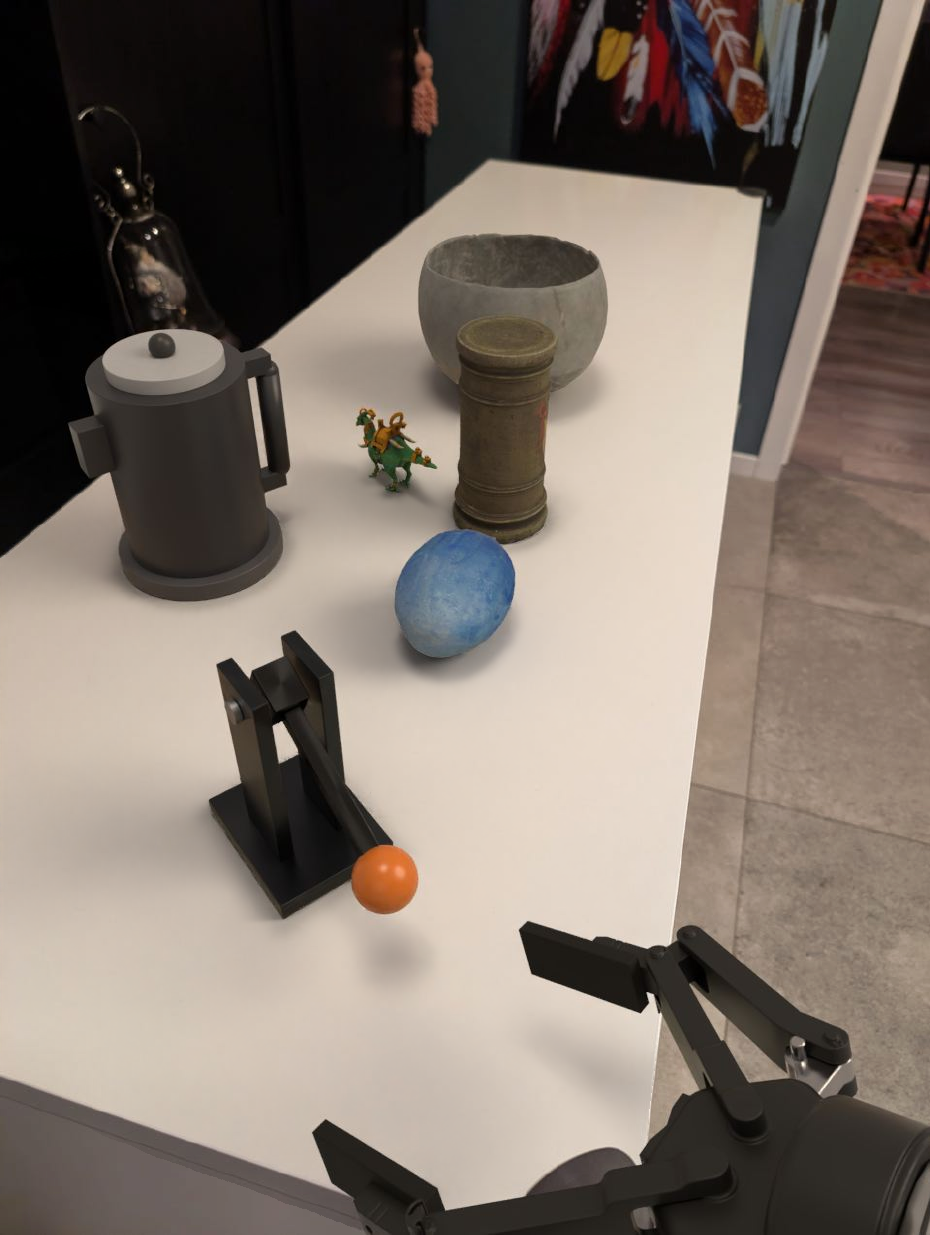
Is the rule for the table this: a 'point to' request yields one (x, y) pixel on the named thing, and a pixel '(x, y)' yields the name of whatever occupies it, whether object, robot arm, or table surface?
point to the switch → (338, 796)
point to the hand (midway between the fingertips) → (438, 1038)
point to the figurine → (390, 447)
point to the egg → (454, 592)
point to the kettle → (187, 460)
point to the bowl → (514, 295)
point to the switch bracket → (286, 789)
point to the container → (503, 425)
